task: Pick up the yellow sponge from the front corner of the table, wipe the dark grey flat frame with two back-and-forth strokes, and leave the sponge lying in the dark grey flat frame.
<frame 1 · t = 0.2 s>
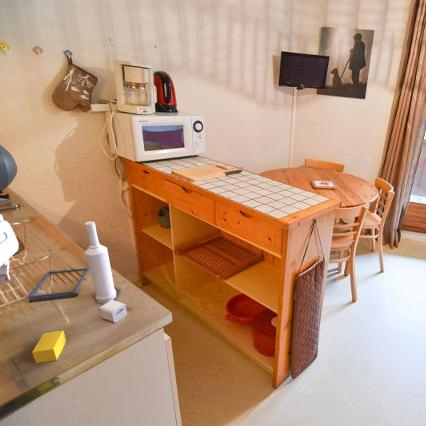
dark grey flat frame: (62, 286, 98), on the countertop
sponge: (52, 351, 76), on the countertop
bottle: (107, 298, 95), on the countertop
usb wall charger: (111, 316, 89), on the countertop
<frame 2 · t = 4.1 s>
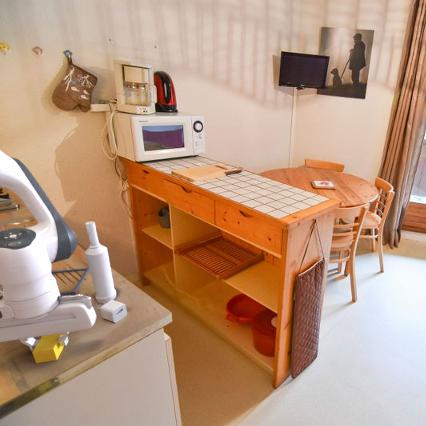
hand: (50, 346, 75), 2 cm above the countertop, tool pointing down, fingers closed on sponge, 4 cm apart
sponge: (52, 351, 76), on the countertop, touching gripper
everything else where it was.
when the fingers open (2 cm above the countertop, at t = 17.1 s): sponge stays where it is, resting on dark grey flat frame.
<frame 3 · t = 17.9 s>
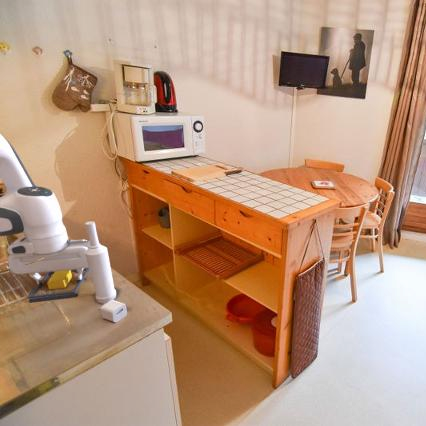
hand: (60, 281, 97), 2 cm above the countertop, tool pointing down, fingers open, 8 cm apart
sponge: (61, 285, 98), resting on dark grey flat frame
everything else where it was.
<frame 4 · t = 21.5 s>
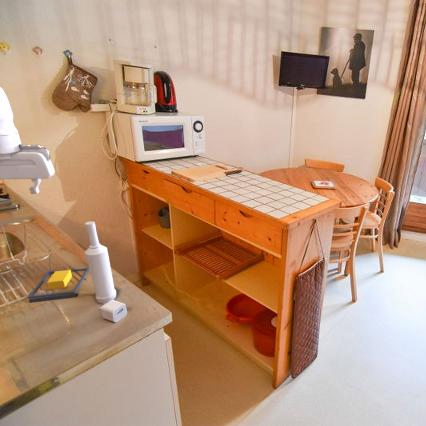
hand: (14, 193, 89), 29 cm above the countertop, tool pointing down, fingers open, 8 cm apart
nothing on the countertop moved.
at the end: sponge inside the target area in the dark grey flat frame (0.0 cm from its centre), point 0.5 cm above the dark grey flat frame's base; sponge moved 28.9 cm from its start; the gripper is holding nothing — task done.
